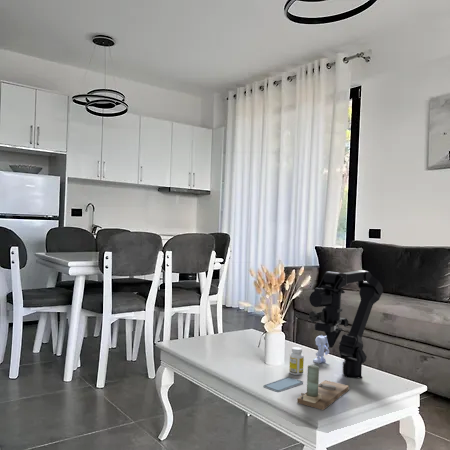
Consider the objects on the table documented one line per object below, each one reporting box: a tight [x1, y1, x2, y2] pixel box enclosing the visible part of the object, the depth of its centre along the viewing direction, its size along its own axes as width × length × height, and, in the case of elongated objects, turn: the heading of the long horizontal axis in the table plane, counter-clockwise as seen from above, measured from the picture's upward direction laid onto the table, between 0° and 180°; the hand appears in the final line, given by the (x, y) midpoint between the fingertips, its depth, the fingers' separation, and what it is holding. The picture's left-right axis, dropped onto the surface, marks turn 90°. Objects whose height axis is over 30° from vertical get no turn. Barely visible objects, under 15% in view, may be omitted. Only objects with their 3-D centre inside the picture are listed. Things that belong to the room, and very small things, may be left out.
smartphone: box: [263, 376, 304, 393], centre depth 166 cm, size 7×1×15 cm
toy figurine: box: [312, 334, 330, 364], centre depth 197 cm, size 7×6×12 cm
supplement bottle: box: [288, 346, 305, 376], centre depth 181 cm, size 5×5×10 cm
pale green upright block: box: [300, 364, 321, 403], centre depth 149 cm, size 5×6×10 cm
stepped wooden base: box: [296, 380, 350, 411], centre depth 156 cm, size 24×9×2 cm, turn 146°
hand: (330, 347), depth 171 cm, fingers closed
